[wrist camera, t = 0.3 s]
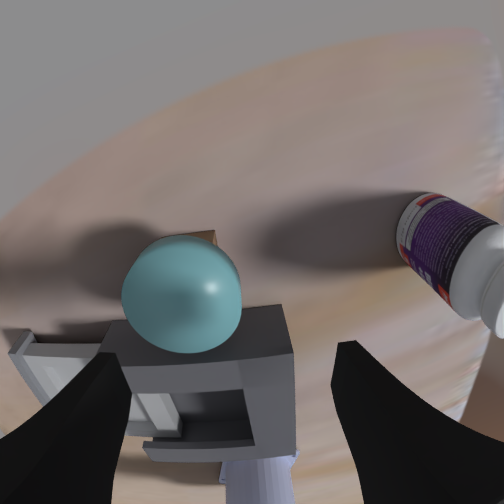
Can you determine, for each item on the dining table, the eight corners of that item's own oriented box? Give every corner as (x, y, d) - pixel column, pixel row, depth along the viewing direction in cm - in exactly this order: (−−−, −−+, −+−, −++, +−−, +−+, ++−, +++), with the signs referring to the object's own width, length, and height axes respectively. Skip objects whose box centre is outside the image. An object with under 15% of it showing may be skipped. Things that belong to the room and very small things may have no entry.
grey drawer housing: (288, 410, 25) (295, 454, 20) (159, 419, 25) (152, 461, 20) (281, 304, 20) (293, 353, 16) (112, 320, 20) (90, 366, 16)
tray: (185, 419, 24) (182, 446, 21) (75, 414, 24) (67, 436, 21) (147, 327, 20) (137, 356, 17) (23, 331, 20) (7, 353, 17)
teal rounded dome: (233, 336, 17) (233, 358, 15) (134, 324, 16) (125, 344, 14) (248, 242, 14) (250, 259, 13) (131, 228, 14) (119, 243, 12)
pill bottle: (382, 257, 19) (465, 351, 10) (409, 180, 17) (523, 237, 8) (437, 271, 20) (518, 350, 11) (464, 204, 18) (563, 261, 9)
